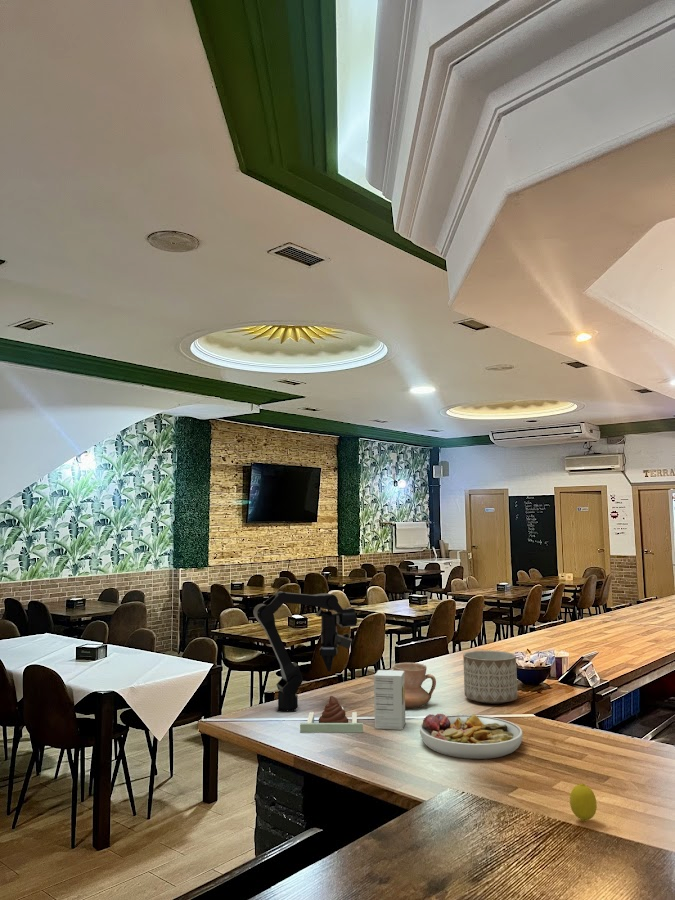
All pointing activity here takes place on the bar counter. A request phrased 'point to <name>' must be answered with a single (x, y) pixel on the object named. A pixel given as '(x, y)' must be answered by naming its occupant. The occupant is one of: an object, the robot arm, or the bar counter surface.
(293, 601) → the robot arm
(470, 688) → the planter
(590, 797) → the lemon
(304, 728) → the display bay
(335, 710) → the poop emoji
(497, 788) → the bar counter surface
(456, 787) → the bar counter surface
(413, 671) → the ceramic jug
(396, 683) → the supplement box
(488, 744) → the bowl
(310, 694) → the bar counter surface
